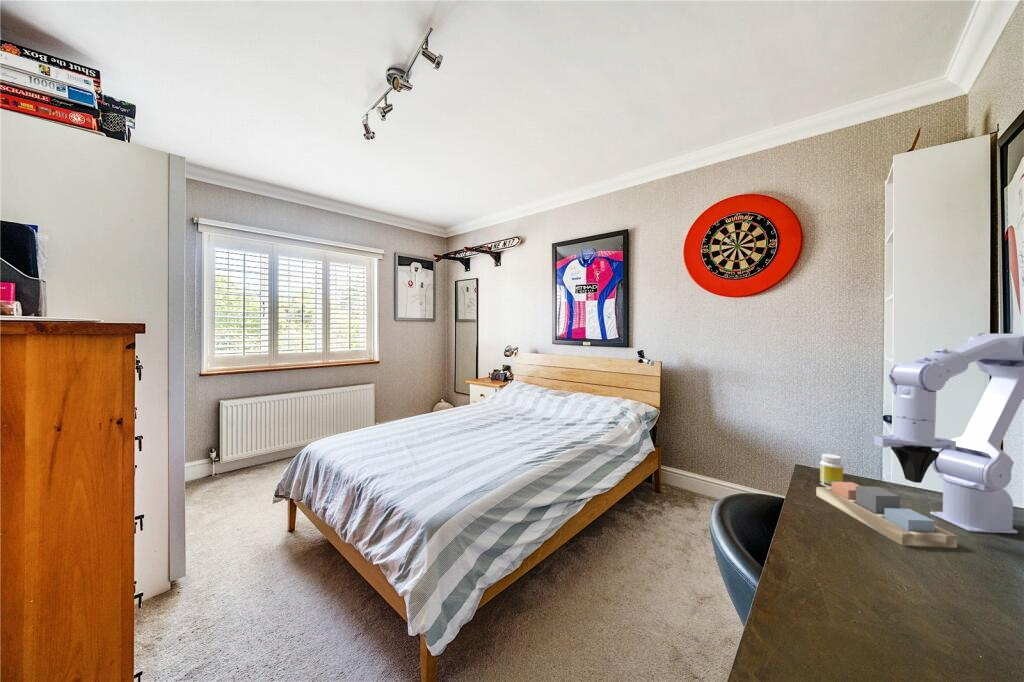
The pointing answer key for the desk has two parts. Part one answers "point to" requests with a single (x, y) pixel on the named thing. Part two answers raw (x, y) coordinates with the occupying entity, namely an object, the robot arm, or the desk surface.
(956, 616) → the desk surface
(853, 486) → the button terracotta
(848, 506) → the board
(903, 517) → the light blue block
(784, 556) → the desk surface
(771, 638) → the desk surface
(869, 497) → the grey block
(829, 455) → the supplement bottle
